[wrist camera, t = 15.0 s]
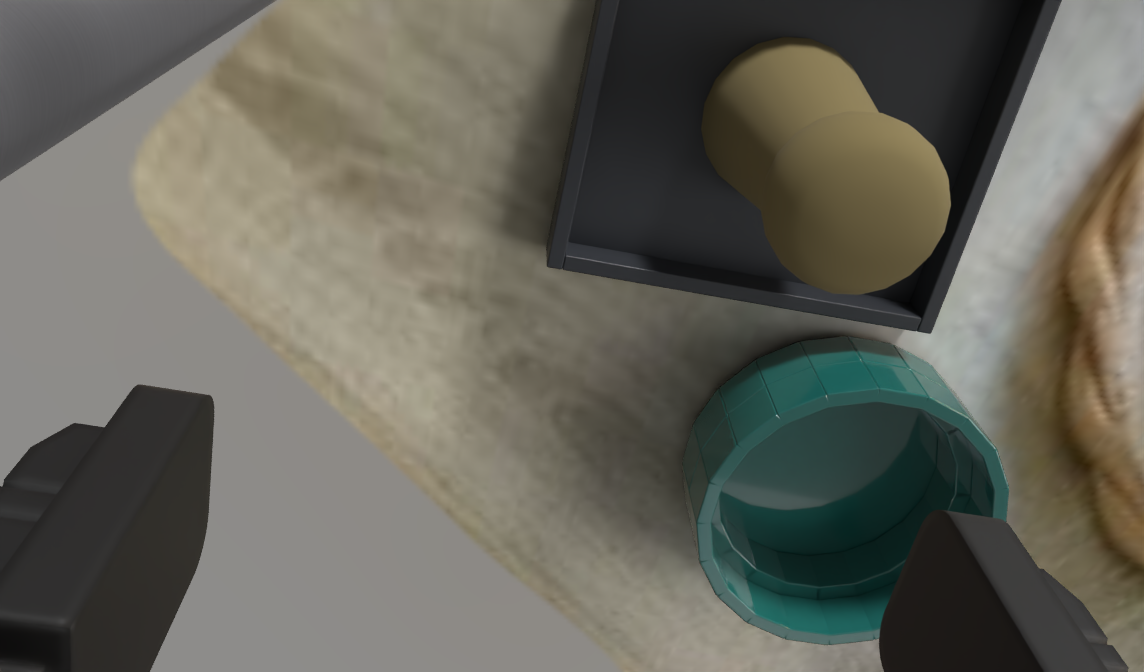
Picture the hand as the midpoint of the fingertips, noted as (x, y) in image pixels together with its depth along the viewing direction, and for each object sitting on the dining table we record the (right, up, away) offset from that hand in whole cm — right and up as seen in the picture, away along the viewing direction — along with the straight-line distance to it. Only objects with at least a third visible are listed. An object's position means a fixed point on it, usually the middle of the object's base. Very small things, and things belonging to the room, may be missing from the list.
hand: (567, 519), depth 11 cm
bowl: (+11, -3, +33) cm, 35 cm away
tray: (+8, +10, +27) cm, 29 cm away
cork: (+8, +10, +26) cm, 29 cm away
